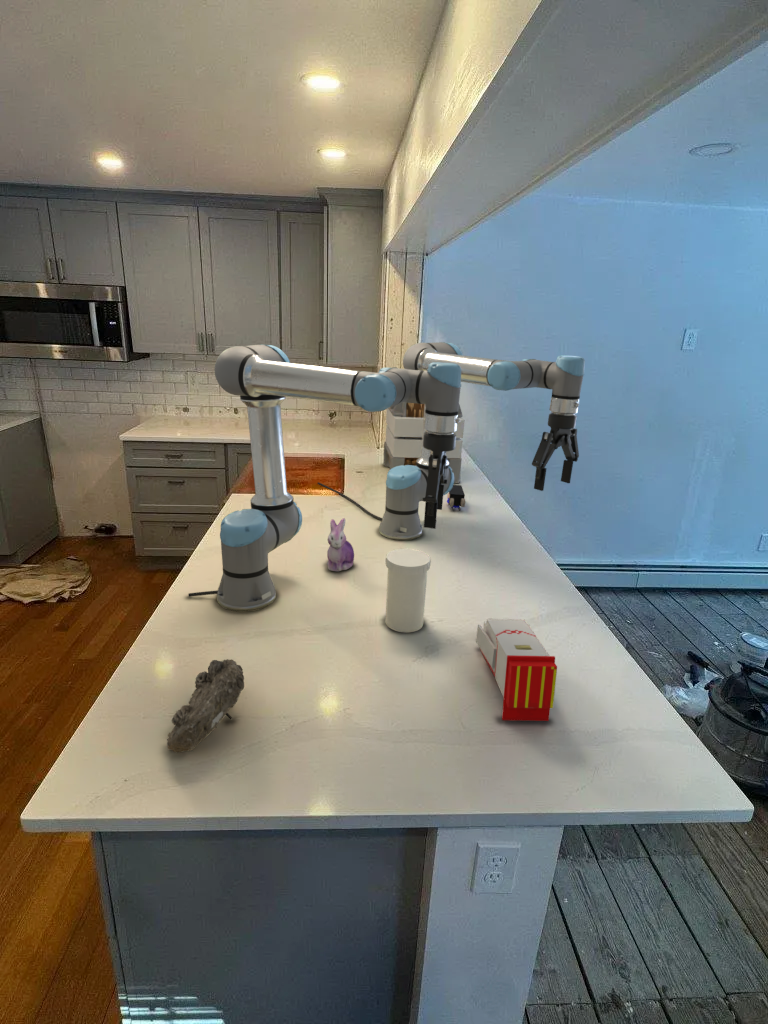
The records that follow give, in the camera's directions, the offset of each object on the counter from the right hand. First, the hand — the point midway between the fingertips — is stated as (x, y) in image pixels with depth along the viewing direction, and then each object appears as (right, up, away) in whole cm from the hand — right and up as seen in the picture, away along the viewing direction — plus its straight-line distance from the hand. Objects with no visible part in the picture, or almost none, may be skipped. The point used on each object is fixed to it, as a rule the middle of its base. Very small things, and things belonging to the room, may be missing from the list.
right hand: (552, 485), depth 166 cm
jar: (-44, -36, -22) cm, 61 cm away
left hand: (-37, -9, -27) cm, 47 cm away
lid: (-43, -19, -28) cm, 55 cm away
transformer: (-32, +11, +109) cm, 115 cm away
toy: (-22, -44, -42) cm, 65 cm away
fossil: (-82, -47, -57) cm, 110 cm away
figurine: (-63, -24, +8) cm, 68 cm away
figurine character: (-20, -6, +65) cm, 68 cm away
